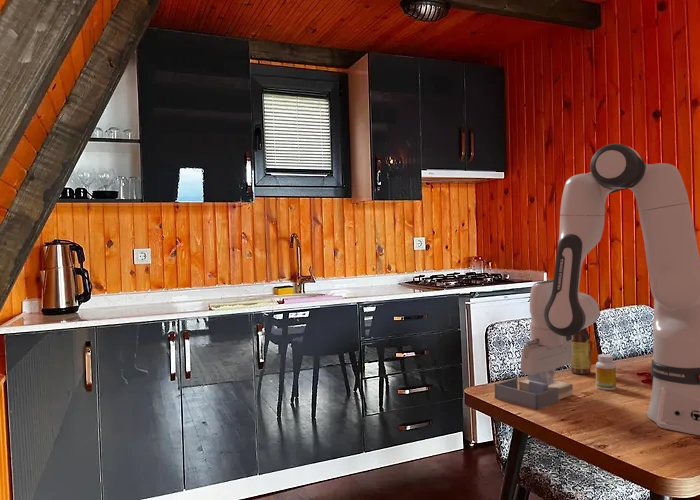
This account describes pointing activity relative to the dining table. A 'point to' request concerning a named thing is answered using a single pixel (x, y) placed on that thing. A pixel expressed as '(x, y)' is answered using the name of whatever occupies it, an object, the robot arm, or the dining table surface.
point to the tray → (524, 395)
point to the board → (551, 387)
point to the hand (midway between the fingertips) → (547, 384)
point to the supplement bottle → (605, 372)
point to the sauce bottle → (581, 353)
